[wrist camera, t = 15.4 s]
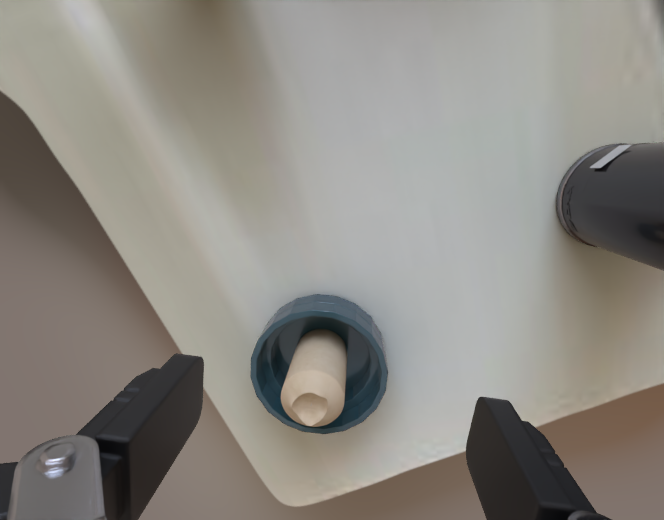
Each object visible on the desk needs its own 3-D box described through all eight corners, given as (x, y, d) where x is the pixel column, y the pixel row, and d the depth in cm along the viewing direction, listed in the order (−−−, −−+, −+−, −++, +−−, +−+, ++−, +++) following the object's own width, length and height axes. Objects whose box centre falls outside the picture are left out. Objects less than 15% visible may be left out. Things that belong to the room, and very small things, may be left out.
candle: (343, 378, 42) (338, 443, 32) (293, 370, 42) (274, 432, 32) (350, 332, 40) (348, 385, 31) (299, 324, 40) (280, 375, 31)
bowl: (369, 281, 39) (370, 297, 35) (394, 392, 42) (399, 422, 38) (248, 306, 41) (233, 325, 36) (281, 411, 44) (271, 442, 39)
